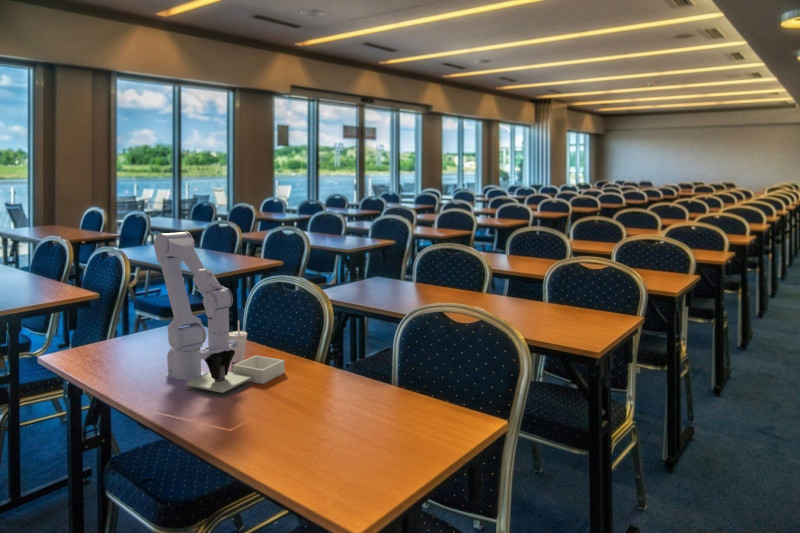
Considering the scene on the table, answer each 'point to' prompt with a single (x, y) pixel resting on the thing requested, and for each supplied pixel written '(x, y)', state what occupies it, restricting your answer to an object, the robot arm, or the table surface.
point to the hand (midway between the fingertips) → (219, 376)
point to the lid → (219, 381)
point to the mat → (219, 394)
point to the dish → (260, 368)
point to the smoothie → (241, 344)
